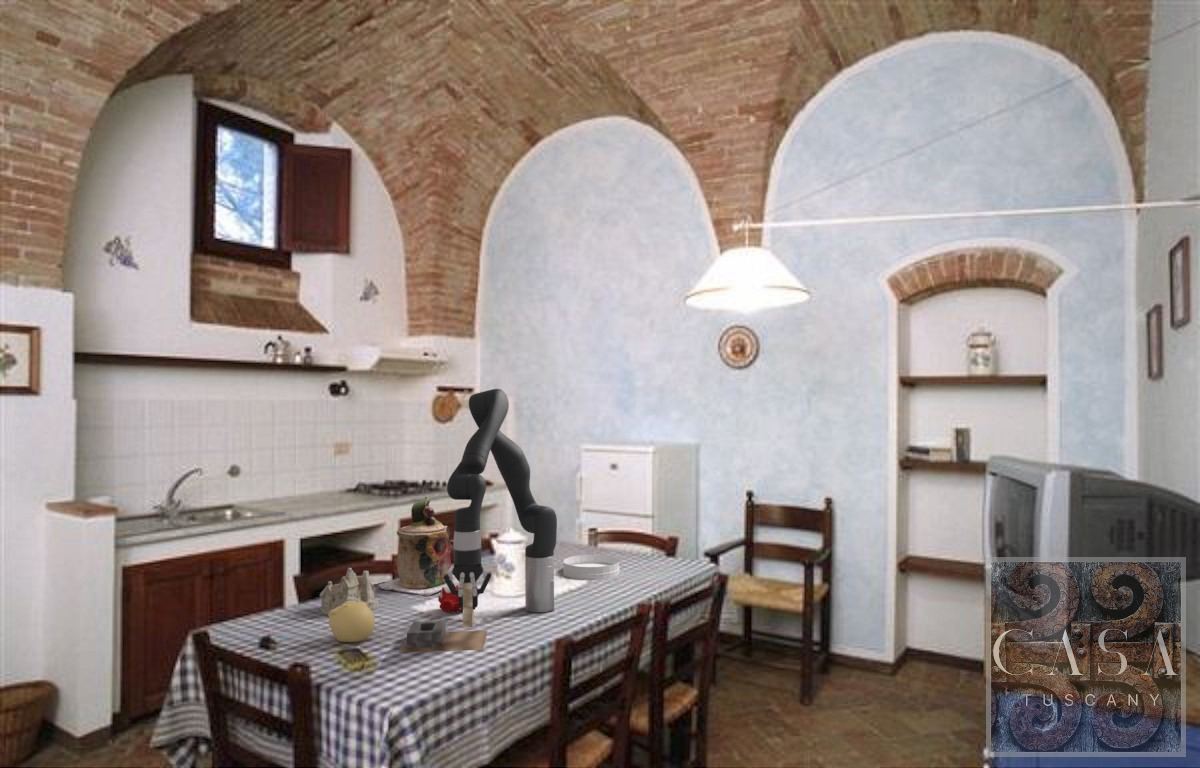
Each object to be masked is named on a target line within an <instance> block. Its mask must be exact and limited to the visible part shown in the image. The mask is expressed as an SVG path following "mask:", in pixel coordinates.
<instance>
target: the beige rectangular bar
mask: <svg viewBox="0 0 1200 768" xmlns="http://www.w3.org/2000/svg"><path fill="white" fill-rule="evenodd" d="M474 614H475V611H474V610H473V592H472V583H471V582H464V583H463V610H462V627H463V628H464V629H465V628H466V629H467V628H473V626H474V622H475V621H474V620H475V619H474V618H475V617H474V616H475V615H474Z"/></svg>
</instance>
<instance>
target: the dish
mask: <svg viewBox="0 0 1200 768" xmlns="http://www.w3.org/2000/svg"><path fill="white" fill-rule="evenodd" d="M620 571H621V570H620V560H619V558H618V557H615V556H611V555H604V554H580V555H572V556H569V557H566V558H565V559H563V567H562V574H563V576H564V577H567V578H569V577H570V578H571V579H575V580H581V581H582V580H584V581H585V580H588V581H592V580H593V581H594V580H595V581H596V580H597V581H598V580H605V579H611V578H615V577H616V576H619V574H620Z"/></svg>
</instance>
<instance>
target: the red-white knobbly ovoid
mask: <svg viewBox="0 0 1200 768" xmlns="http://www.w3.org/2000/svg"><path fill="white" fill-rule="evenodd" d="M454 585H455V587H456V589H458V590H459V582H454ZM477 589H479V586H477ZM437 601H438V602H439V609H440V610H441V611H442V612H452V613H454V612H457V611H459V612H461V611H462V610H461V608H459V597H458V596H457V595H453V594H452V593H451V591H450V589H449V587H448V586H445V587H443V588H442V590H440V595H438V599H437ZM457 613H458V612H457Z"/></svg>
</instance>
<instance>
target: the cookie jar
mask: <svg viewBox="0 0 1200 768" xmlns="http://www.w3.org/2000/svg"><path fill="white" fill-rule="evenodd" d="M430 501H431V499H430V498H429V496H428V495H427V496H425V497H424V499H423V500H421V501H418V502H415V503H414V504H413V505H412V506H411V521H412V523H411V524H410V525H407V526H402V527H400V528H398V529H397V531H396V534H397V536H398V537H399V539H398V548H397V560H396V568H397V573H398V578H396V579H392V580H389V581H385V582H383V583H380V584H378V585H377V586H378V587H379V589H380V590H381V589H382V590H385V591H391V590H392V591H395V592H399V593H405V594H414V595H420V596H425V597H429V596H431V595H433V594H436V593H439V592H441V590H442V588H443V587H445V586H447V584H446V582H445V580H444V575H445V574H446V573H449V572H450V569H451V567H452V562H451V554H450V553H451V551H452V550H453V549H454V547H453V543H454V539H450V534H451V530H450V528H449V526H448V525H443V524H442V522H441V521H440V520H437V519H436V518H435V517H434V516H435V515H436V514H435V509H434V508H433V507H430ZM452 581H453V583H454V582H459V581H458V580H457V579H456V577H455V576H454V575H453V579H452Z"/></svg>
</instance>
